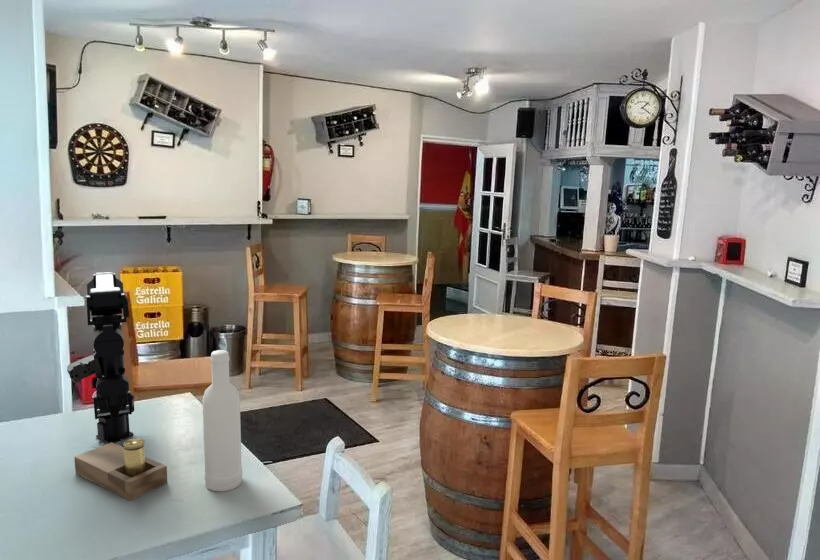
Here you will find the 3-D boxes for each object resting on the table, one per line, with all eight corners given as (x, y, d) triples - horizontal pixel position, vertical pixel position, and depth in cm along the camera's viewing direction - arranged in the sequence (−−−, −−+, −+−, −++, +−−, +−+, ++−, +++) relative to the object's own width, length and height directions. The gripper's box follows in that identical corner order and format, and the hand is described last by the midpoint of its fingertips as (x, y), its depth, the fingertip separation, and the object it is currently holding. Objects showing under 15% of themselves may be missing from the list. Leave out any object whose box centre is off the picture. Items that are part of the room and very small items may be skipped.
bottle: (208, 495, 133) (203, 359, 128) (201, 478, 140) (196, 349, 135) (246, 487, 137) (243, 355, 131) (238, 471, 144) (234, 345, 138)
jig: (112, 457, 148) (111, 442, 148) (167, 482, 138) (166, 465, 137) (75, 473, 141) (74, 456, 140) (130, 500, 131) (129, 482, 130)
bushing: (135, 479, 139) (133, 436, 137) (150, 482, 138) (148, 440, 136) (121, 487, 135) (118, 444, 134) (136, 491, 134) (134, 447, 132)
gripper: (68, 337, 145) (73, 401, 148) (67, 361, 129) (73, 432, 132) (121, 332, 150) (125, 394, 153) (127, 354, 134) (131, 423, 137)
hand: (113, 410), depth 144 cm, fingers open, 9 cm apart
